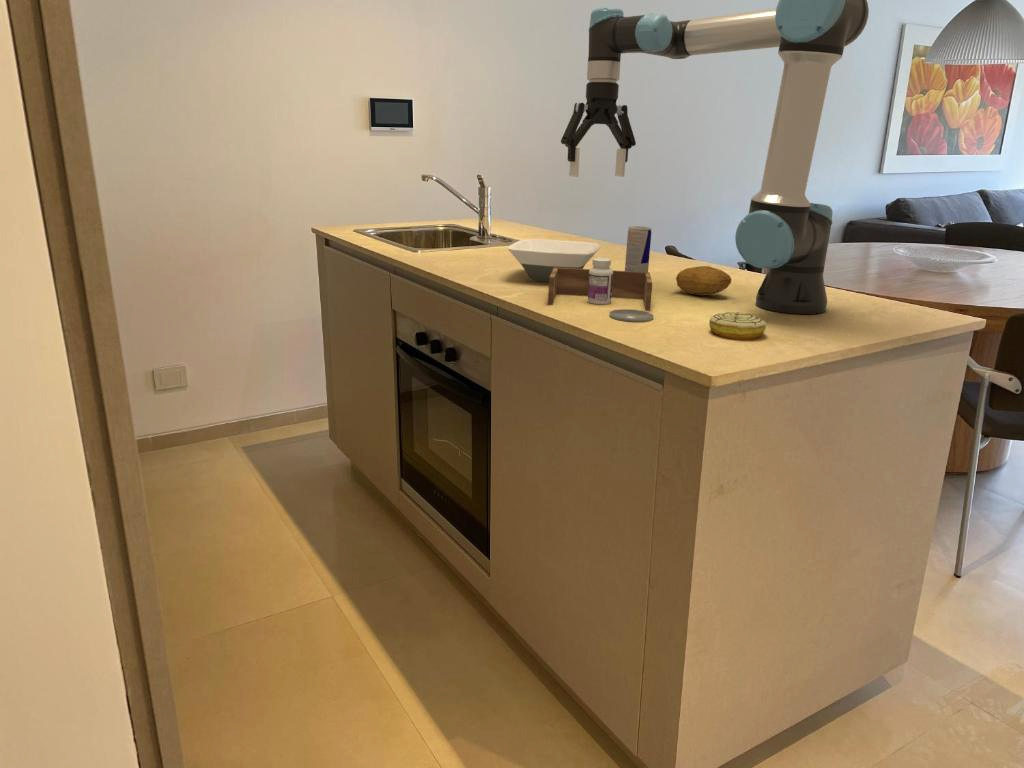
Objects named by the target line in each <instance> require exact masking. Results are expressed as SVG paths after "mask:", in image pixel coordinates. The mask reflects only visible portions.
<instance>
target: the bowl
mask: <svg viewBox="0 0 1024 768" xmlns="http://www.w3.org/2000/svg"><path fill="white" fill-rule="evenodd" d="M601 247H602V246H601V245H600V243H595V242H584V241H573V240H562V239H561V240H557V239H556V240H555V239H539V238H535V239H533V238H524V239H521V240H517V241H515V242H514V243H512V244H510V245H508V248H507V249H508V251H509V252H510V254H511V255H512V256H513V257H514V258H515V260H516V261H518V263H519V264H520V265H521V266H522V269H524V271H525V272H526V274H527V276H528V277H529V279H530V280H531V281H533V280H534V282H541V281H543V282H544V283H549V277H550V275H551V273H552V271H553V269H554V267H555V268H574V269H585V268H584V267H585V266H586V264H587V263H589V261H590V260H591V259H592V258H593V257H594V256H595V254H596V253H597V252H598V251H599V250H600V249H601Z"/></svg>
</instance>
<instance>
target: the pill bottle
mask: <svg viewBox="0 0 1024 768" xmlns="http://www.w3.org/2000/svg"><path fill="white" fill-rule="evenodd" d="M611 264H612V260H611V259H610V258H606V257H597V258H596V257H595V258H593V259H592V266H593V267H591V268H589V269H590V270H589V279H588V296H587V302H588V303H589V304H590V303H591V304H594V305H608V304H609V305H610V304H611V302H612V299H613V297H612V284H613V271H614V270H613V269H611V268H610V267H611Z"/></svg>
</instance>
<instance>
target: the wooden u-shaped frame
mask: <svg viewBox="0 0 1024 768" xmlns="http://www.w3.org/2000/svg"><path fill="white" fill-rule="evenodd" d="M590 269H591V268H583V269H574V268H555V267H554V269H553V271H552V273H551V275H550V277H549V282H548V295H547V296H548V297H547V300H548V301H547V303H548V304H547V306H553V305H554V303H555V300H556V297H557V295H568V296H585V297H588V279H589V270H590ZM612 271H613V284H612V298H619V299H620V298H621V299H622V298H623V299H637V300H639V299H640V300H643V305H644V309H645V312H649V311H651V305H652V304H651V303H652V293H653V292H652V291H653V280H652V277H651V272H649V271H648V272H631V271H625V270H612Z"/></svg>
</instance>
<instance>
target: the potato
mask: <svg viewBox="0 0 1024 768" xmlns="http://www.w3.org/2000/svg"><path fill="white" fill-rule="evenodd" d="M675 280H676V286H677V287H678V288H679V289H680V290H681V291H683V292H684V293H687V294H691V295H695V296H708V295H714V294H715V295H716V294H718V293H720V292H723V291H724V290H726V289H727V288H728V287H729V286H730V284H731V283H732V277H731V275H729V274H728V273H727V272H726V271H724V270H722V269H719V268H715V267H712V266H711V265H702V266H701V265H700V266H694V267H688V268H685V269H683V270H680V271H679V272H678V274H677V275H676V277H675Z"/></svg>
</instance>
